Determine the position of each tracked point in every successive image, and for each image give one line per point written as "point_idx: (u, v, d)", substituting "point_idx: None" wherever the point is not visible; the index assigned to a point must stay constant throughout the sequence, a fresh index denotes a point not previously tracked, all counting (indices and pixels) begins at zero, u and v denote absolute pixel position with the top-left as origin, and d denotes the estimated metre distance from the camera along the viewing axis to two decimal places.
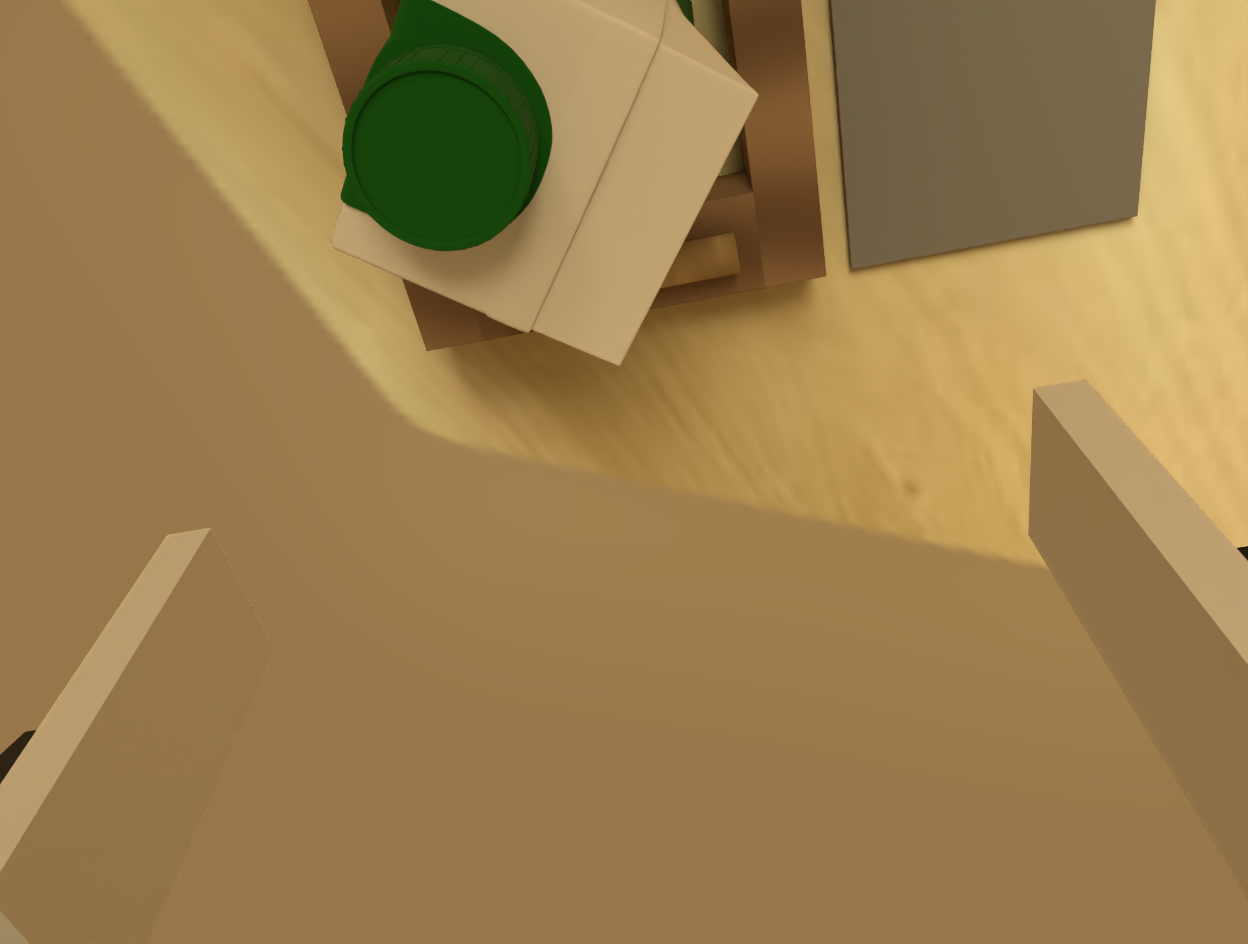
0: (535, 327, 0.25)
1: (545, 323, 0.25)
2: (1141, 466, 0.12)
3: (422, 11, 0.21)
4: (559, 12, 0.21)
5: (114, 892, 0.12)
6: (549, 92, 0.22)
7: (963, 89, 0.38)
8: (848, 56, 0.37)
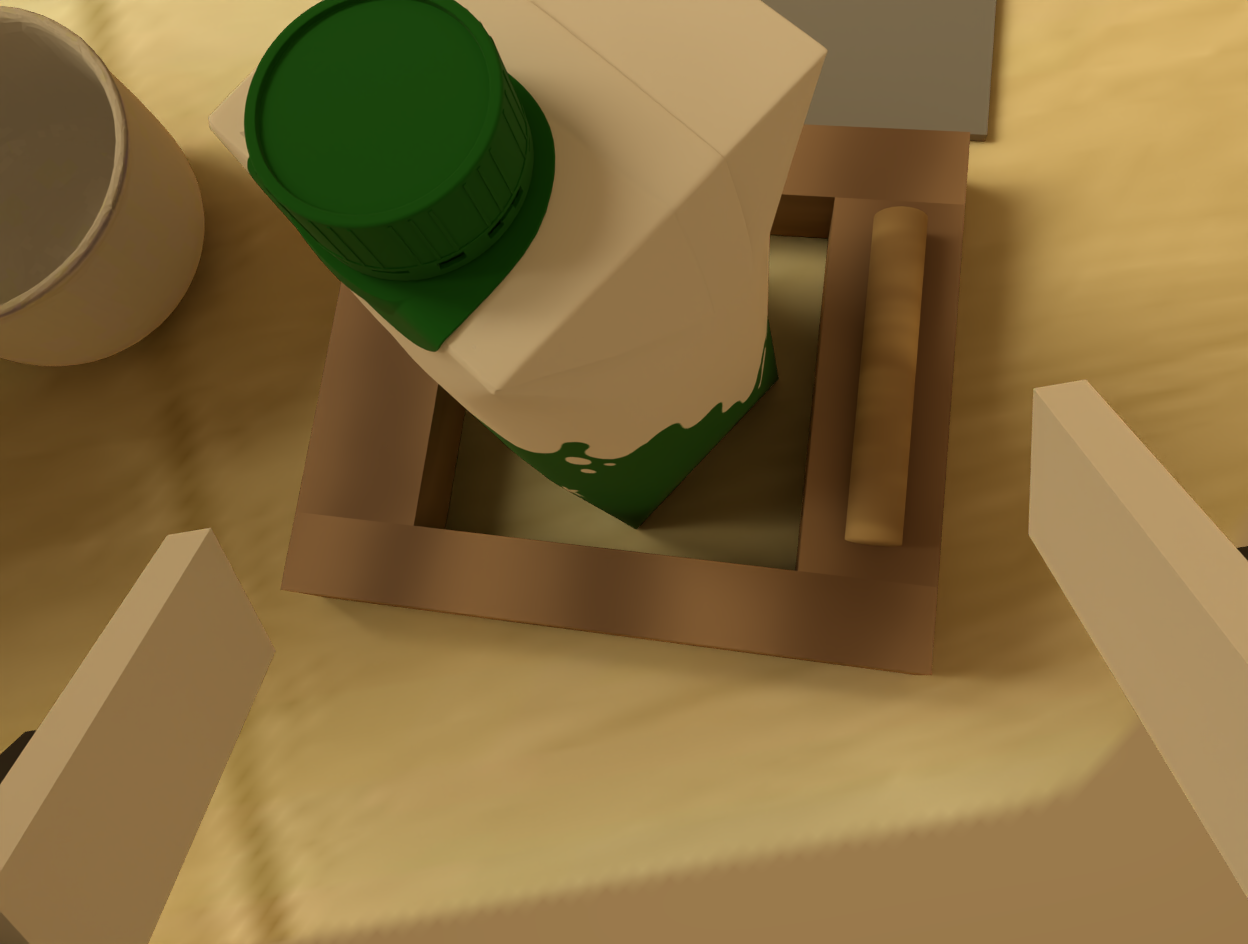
0: (722, 150, 0.16)
1: (720, 134, 0.16)
2: (1141, 466, 0.12)
3: None
4: None
5: (114, 892, 0.12)
6: None
7: (807, 5, 0.35)
8: None
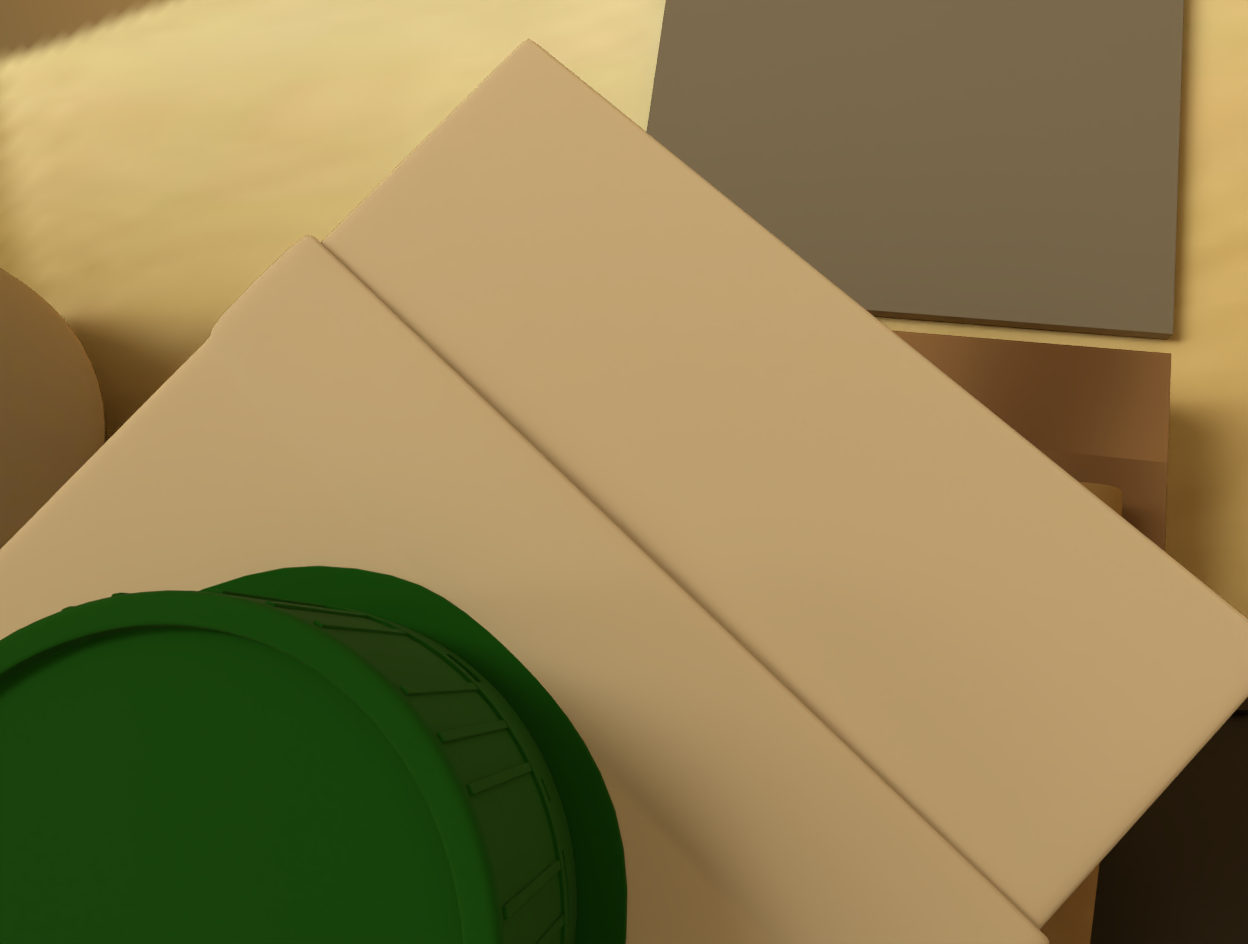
0: (1036, 907, 0.06)
1: (1029, 861, 0.06)
2: None
3: None
4: (150, 454, 0.08)
5: None
6: (308, 550, 0.07)
7: (917, 143, 0.26)
8: None
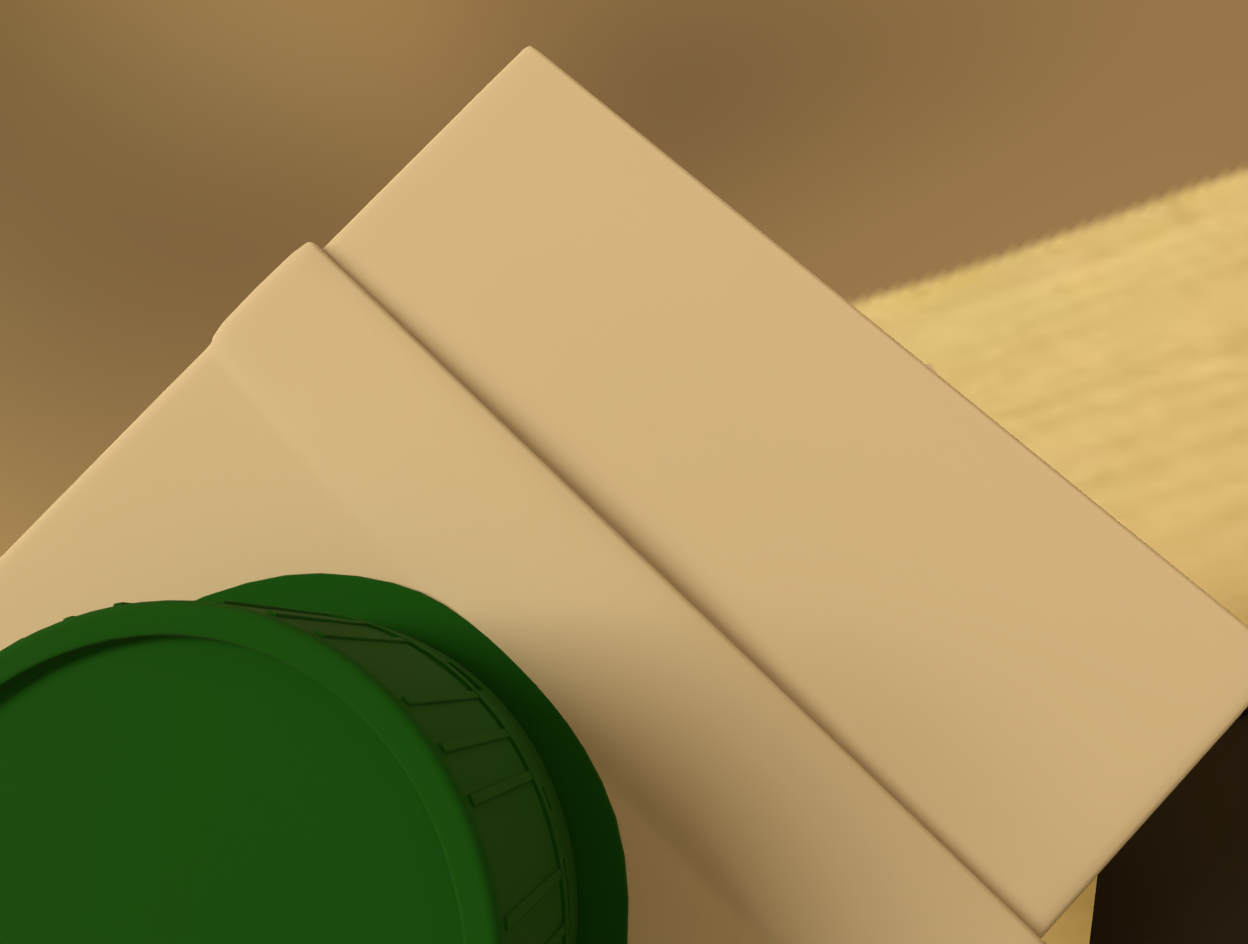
0: (1036, 915, 0.06)
1: (1030, 869, 0.06)
2: None
3: None
4: (149, 462, 0.08)
5: None
6: (310, 558, 0.07)
7: None
8: None
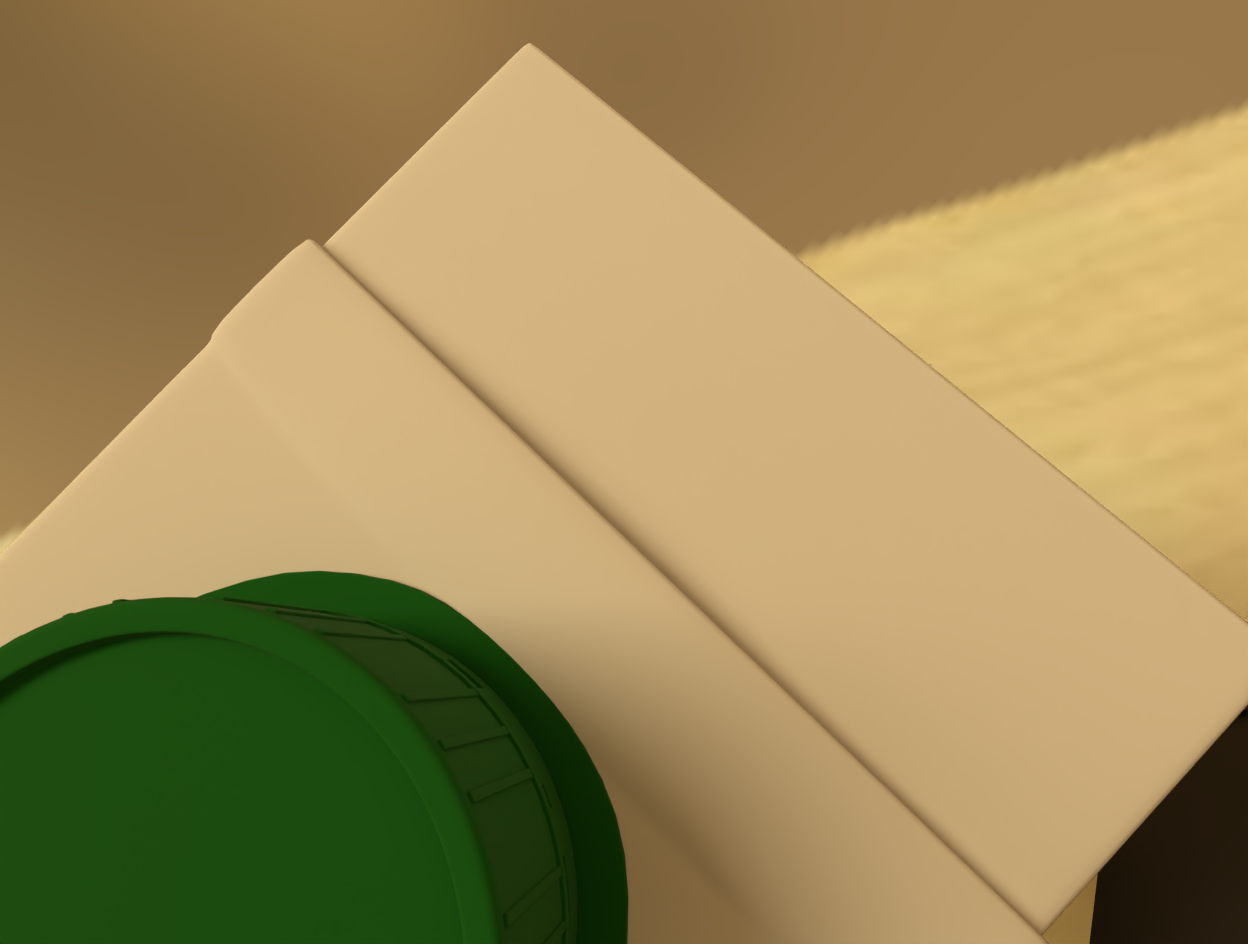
0: (1037, 913, 0.06)
1: (1030, 867, 0.06)
2: None
3: None
4: (149, 459, 0.08)
5: None
6: (309, 556, 0.07)
7: None
8: None
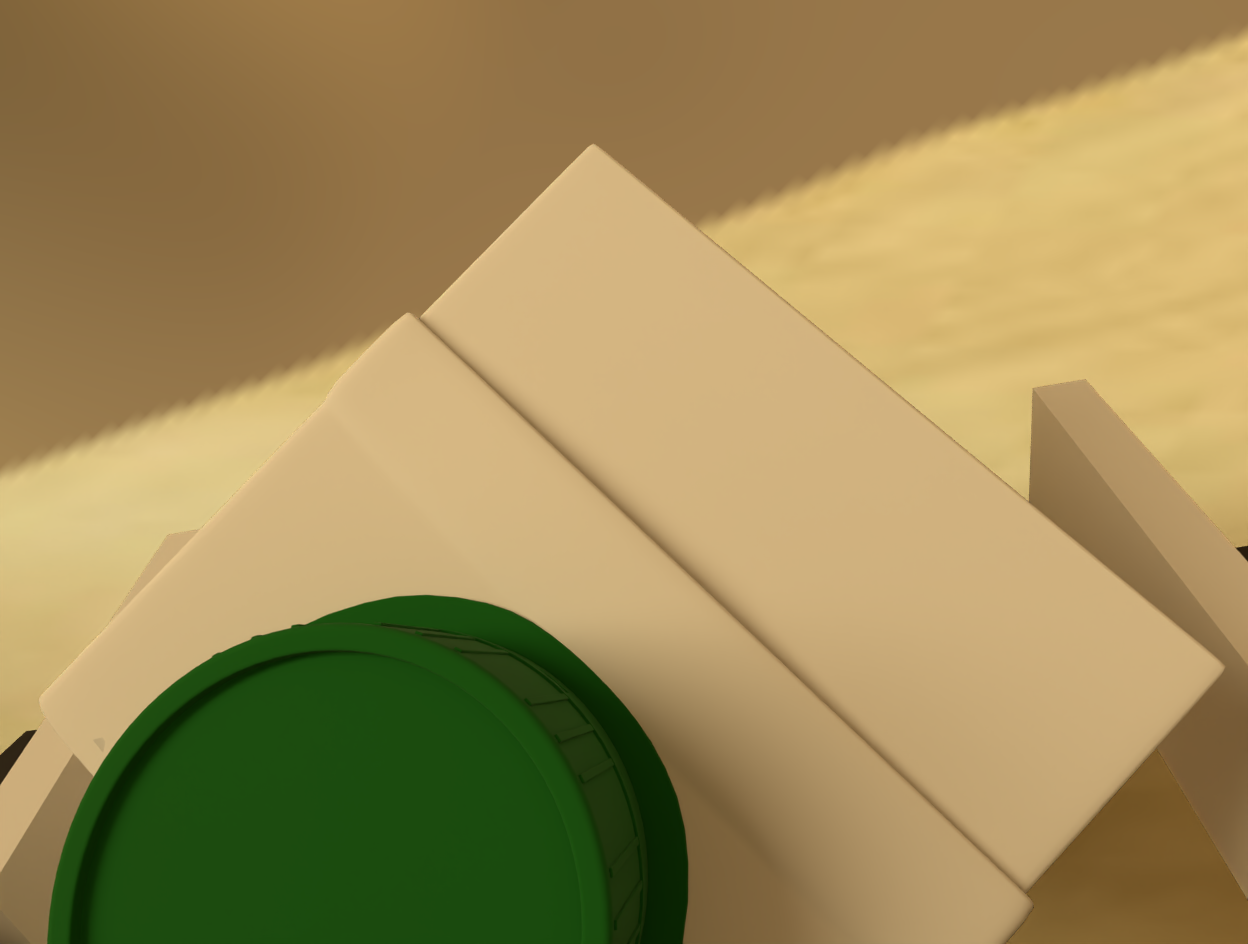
0: (1022, 875, 0.08)
1: (1017, 838, 0.08)
2: (1140, 466, 0.12)
3: None
4: (277, 500, 0.09)
5: None
6: (416, 581, 0.09)
7: None
8: None
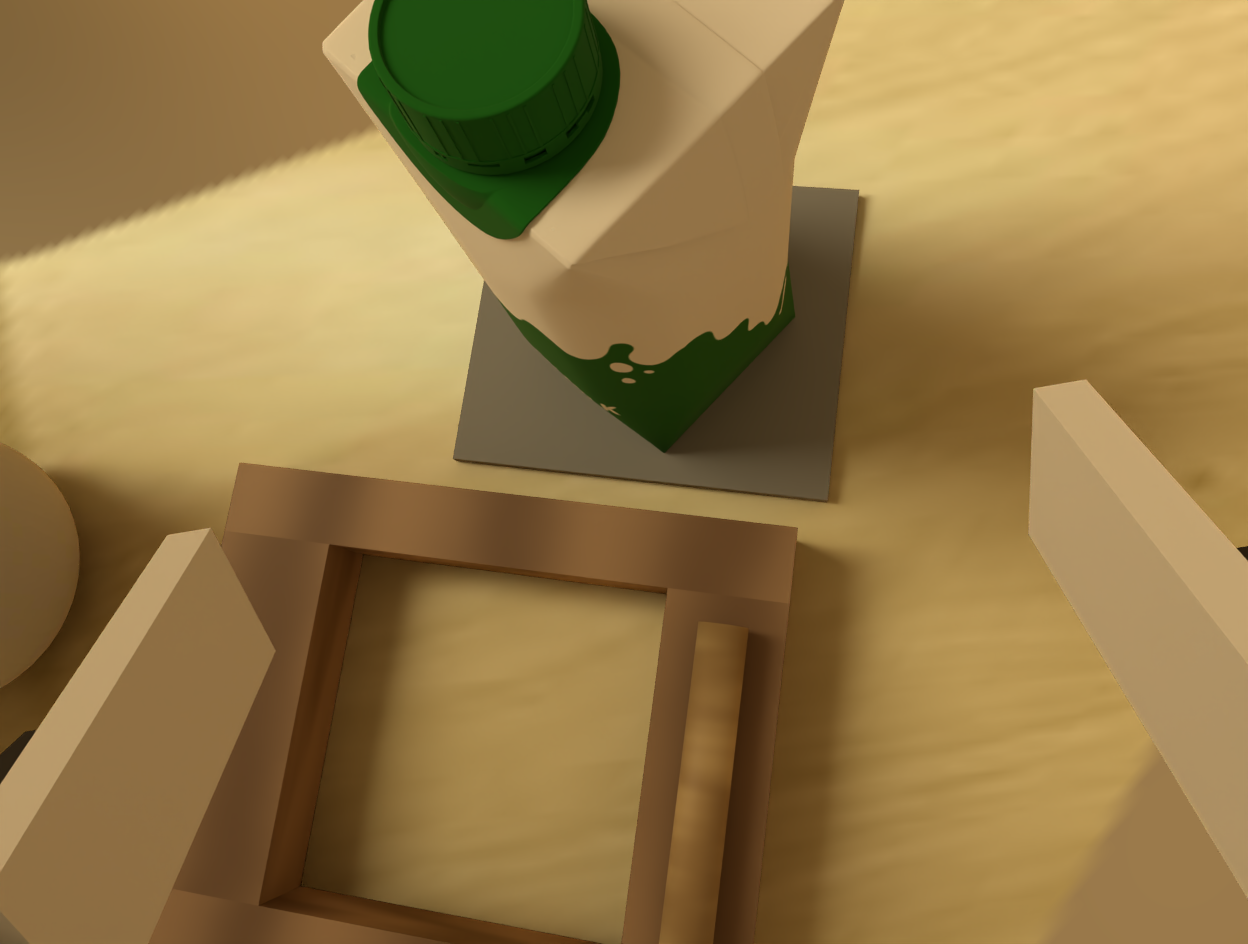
0: (761, 67, 0.18)
1: (759, 53, 0.19)
2: (1141, 466, 0.12)
3: None
4: None
5: (114, 892, 0.12)
6: None
7: None
8: (591, 460, 0.36)
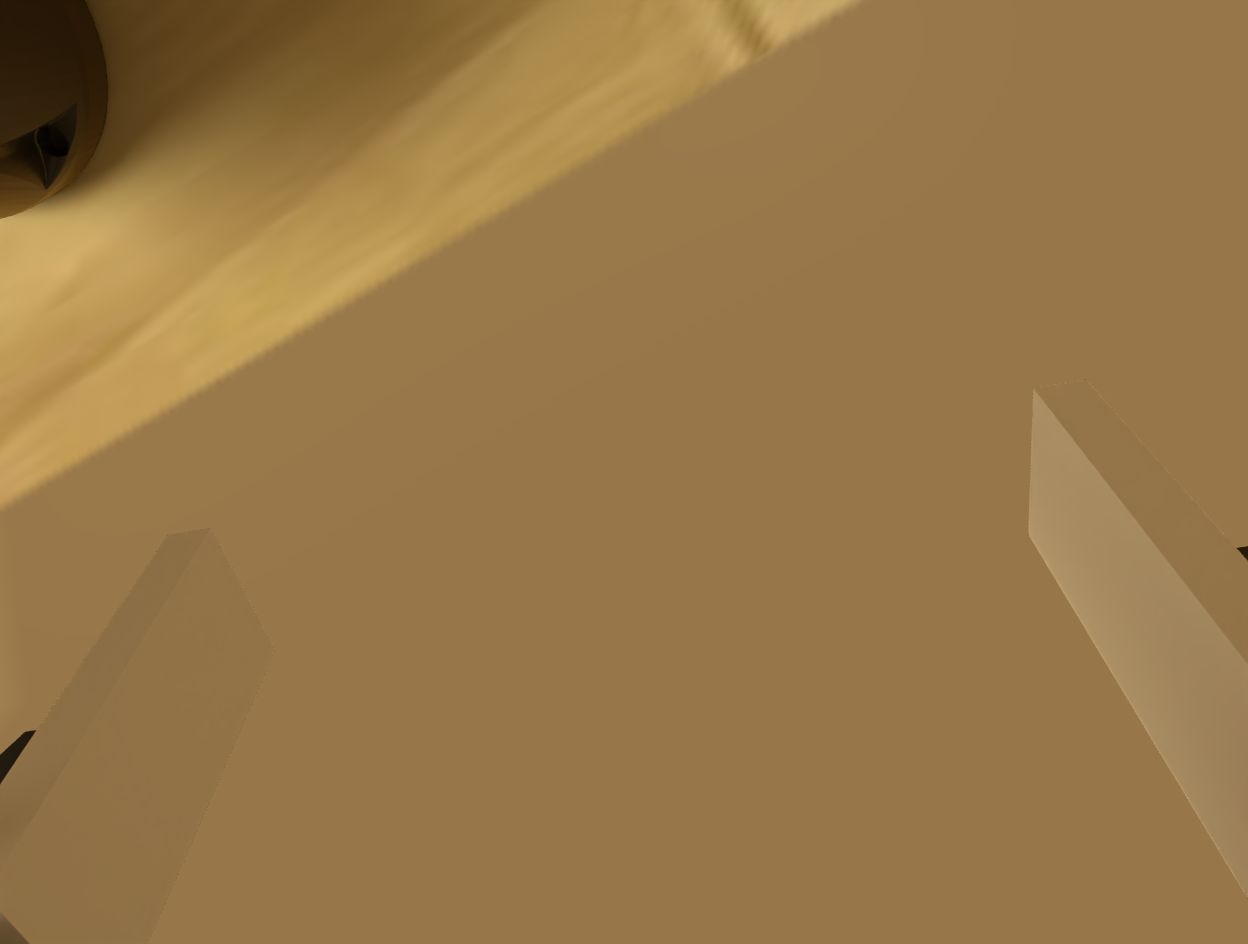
0: None
1: None
2: (1141, 466, 0.12)
3: None
4: None
5: (114, 892, 0.12)
6: None
7: None
8: None
